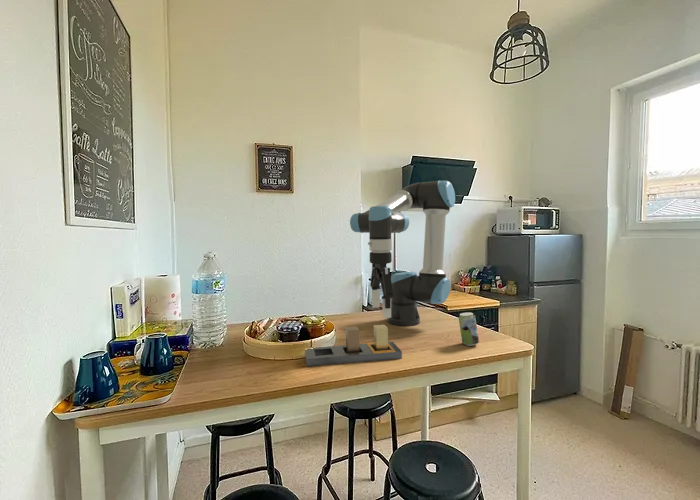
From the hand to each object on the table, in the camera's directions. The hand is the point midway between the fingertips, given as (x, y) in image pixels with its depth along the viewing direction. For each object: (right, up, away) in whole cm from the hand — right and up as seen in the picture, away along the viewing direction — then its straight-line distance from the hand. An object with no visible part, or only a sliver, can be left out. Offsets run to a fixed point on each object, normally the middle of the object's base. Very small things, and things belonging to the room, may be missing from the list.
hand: (381, 312), depth 121 cm
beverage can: (+34, -14, +10) cm, 38 cm away
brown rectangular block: (-10, -15, -1) cm, 18 cm away
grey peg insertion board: (-10, -15, -1) cm, 18 cm away
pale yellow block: (0, -15, +1) cm, 15 cm away
